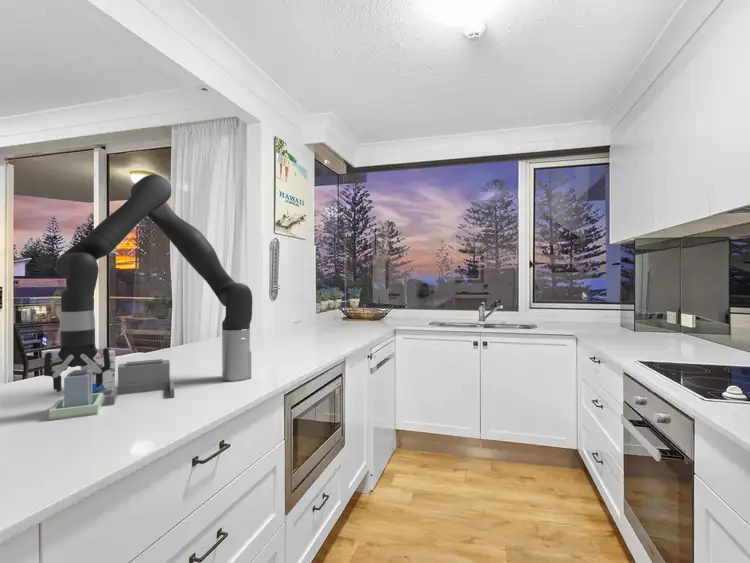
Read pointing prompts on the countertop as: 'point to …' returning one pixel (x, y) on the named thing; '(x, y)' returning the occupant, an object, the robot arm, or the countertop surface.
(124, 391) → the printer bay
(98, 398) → the tray
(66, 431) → the countertop surface
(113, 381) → the ink box
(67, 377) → the box with raised panel
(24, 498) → the countertop surface
